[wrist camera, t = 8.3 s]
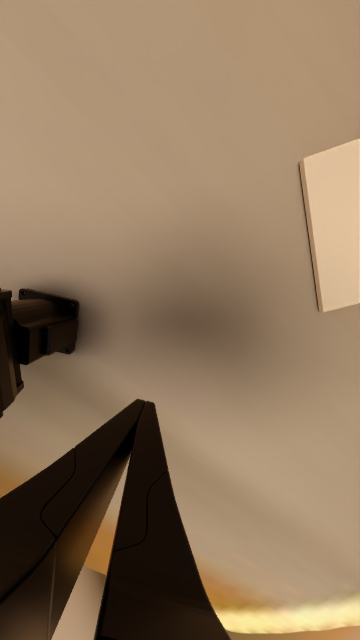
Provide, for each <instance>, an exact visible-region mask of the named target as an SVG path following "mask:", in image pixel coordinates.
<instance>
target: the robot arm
mask: <svg viewBox="0 0 360 640" xmlns="http://www.w3.org/2000/svg"><path fill="white" fill-rule="evenodd" d="M24 292H25V293H26V294H25V293H24ZM11 297H12V291H11V290H2V289H1V288H0V418H1V417H2V416H3V411H4V410H5V409H6V408H7V407H8V406H9V405H10V404H11V403H12V402H13V401H14V400H15V398H16V396H17V394H18V393H19V392H20V391H21V390H22V389H23V388H24V382H23V381H22V378H21V371H20V364H23V365H28V364H30V363H32V362H34V361H36V360H37V359H39V358H41V357H43V356H45V355H51V354H53V353H54V352H60V353H65V354H71V353H73V352H74V348H75V341H76V338H77V328H78V320H77V317H78V307H79V304H78V302H77V301H76V300H73V299H69V298H64V297H60V296H56V295H52V294H47V293H43V292H39V291H35V290H30V289H20V290H19V300H15V301H11ZM72 303H74V306H73V305H72ZM68 349H70V351H69V350H68ZM130 455H131V456H130ZM129 457H130V461H129V466H128V471H127V476H126V481H125V486H124V491H123V496H122V501H121V506H120V511H119V516H118V521H117V526H116V530H115V535H114V540H113V545H112V550H111V555H110V560H109V565H108V570H107V575H106V581H105V585H104V590H103V595H102V600H101V606H100V610H99V615H98V620H97V625H96V630H95V635H94V640H231V638H230V637H229V635H228V633H227V632H226V630H225V628H224V627H223V625H222V624H221V622H220V620H219V618H218V617H217V615H216V613H215V611H214V609H213V607H212V605H211V603H210V601H209V599H208V596H207V594H206V591H205V589H204V586H203V584H202V581H201V578H200V575H199V572H198V569H197V566H196V563H195V560H194V557H193V554H192V551H191V547H190V544H189V541H188V538H187V535H186V532H185V529H184V526H183V523H182V520H181V517H180V513H179V510H178V507H177V503H176V500H175V496H174V492H173V488H172V484H171V479H170V474H169V471H168V465H167V461H166V456H165V451H164V446H163V442H162V437H161V432H160V427H159V422H158V418H157V413H156V408H155V404H154V403H153V402H149V401H146V402H145V400H141V399H136V400H135V401H134V402H132V403H131V404H130V405H128V406H127V407H126V408H124V409H123V410H122V411H121V412H119V413H118V414H117V415H115V416H114V417H113V418H112V419H110V420H109V421H108V422H106V423H105V424H104V425H102V426H101V427H100V428H99V429H97V430H96V431H95V432H93V433H92V434H91V435H89V436H88V437H87V438H86V439H84V440H83V441H82V442H80V443H79V444H78V445H77V446H75V448H72V449H71V450H70V451H69V452H67V453H66V454H65V455H63V456H62V457H61V458H59V459H58V460H57V461H55V462H54V463H53V464H51V465H50V466H48V467H47V468H46V469H44V470H43V471H41V472H40V473H38V474H37V475H35V476H34V477H32V478H31V479H29V480H28V481H26V482H25V483H23V484H22V485H20V486H19V487H17V488H15V489H14V490H12V491H11V492H9V493H8V494H6V495H5V496H3V497H2V498H0V640H51V639H52V636H53V634H54V632H55V629H56V627H57V625H58V622H59V620H60V618H61V615H62V613H63V611H64V608H65V606H66V604H67V601H68V599H69V597H70V594H71V592H72V590H73V588H74V585H75V583H76V580H77V578H78V576H79V574H80V571H81V569H82V567H83V564H84V562H85V560H86V557H87V555H88V553H89V550H90V548H91V546H92V544H93V541H94V539H95V537H96V534H97V532H98V530H99V527H100V525H101V523H102V520H103V518H104V516H105V513H106V511H107V509H108V506H109V504H110V502H111V499H112V497H113V495H114V492H115V490H116V488H117V485H118V483H119V481H120V479H121V476H122V474H123V472H124V469H125V467H126V465H127V462H128V460H129Z"/></svg>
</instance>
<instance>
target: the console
mask: <svg viewBox="0 0 360 640" xmlns="http://www.w3.org/2000/svg"><path fill="white" fill-rule="evenodd" d="M299 165H300V173H301V180H302V188H303V195H304V202H305V210H306V217H307V224H308V232H309V239H310V247H311V254H312V261H313V269H314V276H315V283H316V291H317V298H318V306H319V311H320V312H327V311H331V310H335V309H339V308H342V307H346V306H350V305H354V304H358V303H360V138H359V139H356V140H354V141H351V142H348V143H345V144H342V145H340V146H337V147H334V148H331V149H328V150H325V151H323V152H320V153H317V154H314V155H311V156H309V157H306V158H303V159H302V160H301V161H300V162H299Z"/></svg>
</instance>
